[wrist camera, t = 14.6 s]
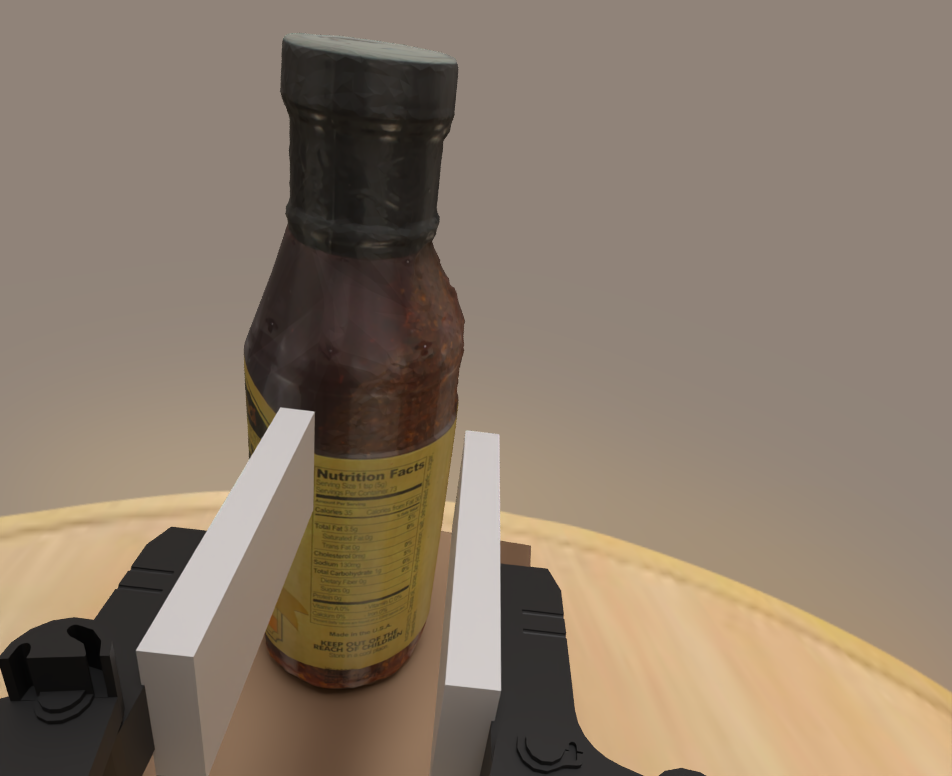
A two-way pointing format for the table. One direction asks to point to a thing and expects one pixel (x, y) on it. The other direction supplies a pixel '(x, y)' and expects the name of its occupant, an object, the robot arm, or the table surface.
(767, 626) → the table surface
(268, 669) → the walnut block
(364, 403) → the sauce bottle
